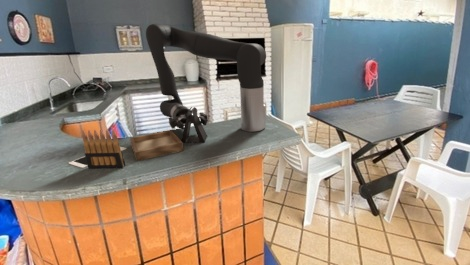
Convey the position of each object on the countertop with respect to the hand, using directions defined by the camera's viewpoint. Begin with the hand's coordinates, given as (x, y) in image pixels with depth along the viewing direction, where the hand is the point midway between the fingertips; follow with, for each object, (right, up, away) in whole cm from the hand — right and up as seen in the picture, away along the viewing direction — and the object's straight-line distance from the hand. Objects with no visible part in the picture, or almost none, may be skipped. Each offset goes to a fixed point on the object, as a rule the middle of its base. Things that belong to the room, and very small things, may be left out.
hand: (194, 124), depth 89 cm
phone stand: (-1, -6, +4) cm, 7 cm away
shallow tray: (-13, -8, -2) cm, 16 cm away
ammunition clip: (-24, -14, -15) cm, 31 cm away
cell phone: (-31, -11, -6) cm, 33 cm away
